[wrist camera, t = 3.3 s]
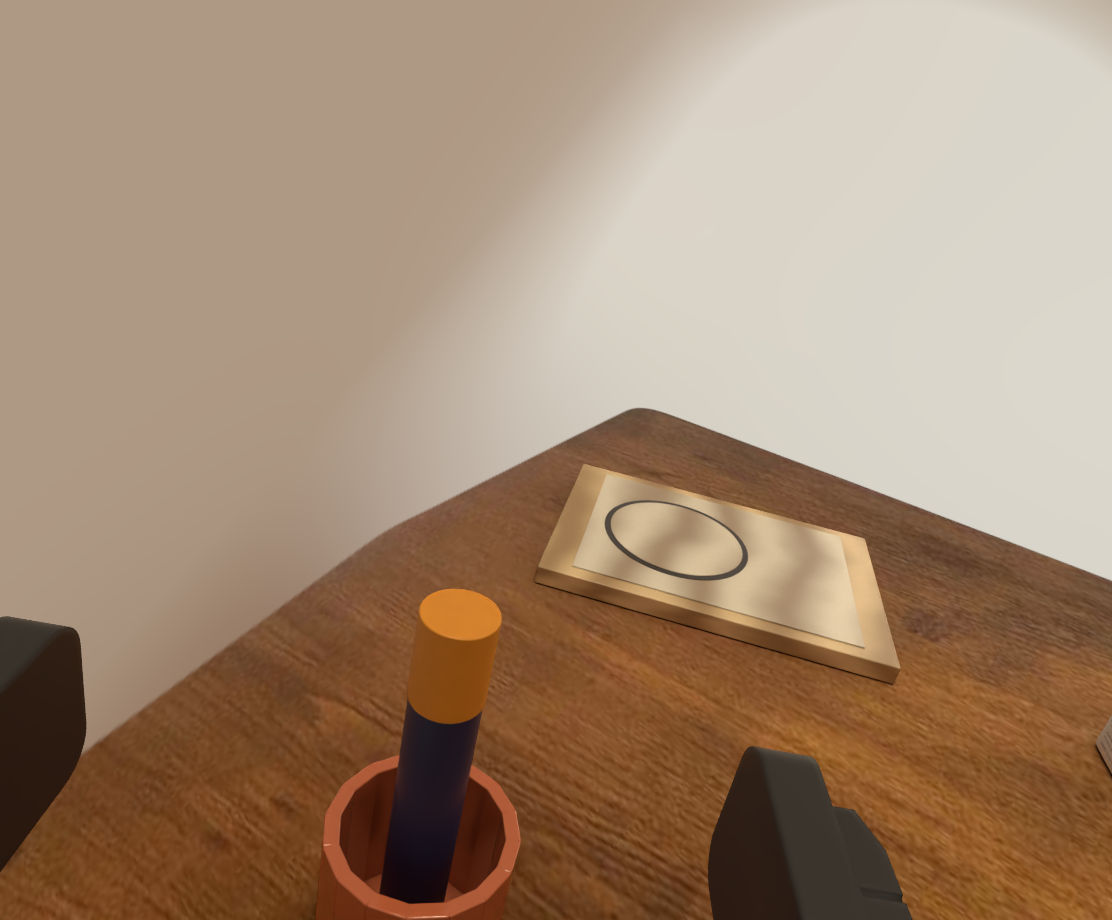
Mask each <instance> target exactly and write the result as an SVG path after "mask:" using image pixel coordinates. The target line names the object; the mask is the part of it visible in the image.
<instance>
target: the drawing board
mask: <svg viewBox="0 0 1112 920" xmlns="http://www.w3.org/2000/svg"><path fill="white" fill-rule="evenodd" d="M534 581H535V582H537V583H540V584H544V585H547V586H551V587H554V588H558V589H561V590H565V591H568V592H572V593H575V594H579V595H582V596H586V597H589V598H593V599H596V600H600V601H603V602H607V603H610V604H614V605H617V606H621V607H624V608H628V609H631V610H635V611H638V612H642V613H645V614H649V615H652V616H656V617H659V618H663V619H666V620H670V621H673V622H677V623H680V624H684V625H687V626H691V627H695V628H698V629H702V630H705V631H709V632H712V633H716V634H719V635H723V636H726V637H730V638H733V639H737V640H740V641H744V642H747V643H751V644H754V645H758V646H761V647H765V648H768V649H772V650H775V651H779V652H782V653H786V654H789V655H793V656H796V657H800V658H803V659H807V660H810V661H814V662H817V663H821V664H824V665H828V666H831V667H835V668H838V669H842V670H845V671H849V672H852V673H856V674H859V675H863V676H867V677H870V678H874V679H877V680H881V681H884V682H888V683H891V684H894V682H895V680H896V678H897V676H898V673H899V671H900V665H899V661H898V658H897V654H896V650H895V647H894V643H893V640H892V636H891V632H890V629H889V625H888V621H887V618H886V614H885V611H884V607H883V603H882V600H881V596H880V593H879V589H878V585H877V582H876V578H875V575H874V571H873V567H872V564H871V560H870V556H869V553H868V549H867V546H866V542H865V539H864V538H860V537H856V536H853V535H849V534H845V533H841V532H838V531H834V530H830V529H826V528H823V527H819V526H815V525H811V524H808V523H804V522H800V521H796V520H793V519H789V518H785V517H781V516H778V515H774V514H770V513H766V512H763V511H759V510H755V509H751V508H748V507H744V506H740V505H736V504H733V503H729V502H725V501H721V500H717V499H714V498H710V497H706V496H702V495H699V494H695V493H691V492H687V491H684V490H680V489H676V488H672V487H669V486H665V485H661V484H657V483H654V482H650V481H646V480H642V479H639V478H635V477H631V476H627V475H624V474H620V473H616V472H612V471H609V470H605V469H601V468H597V467H594V466H590V465H586V464H583V466H582V469H581V471H580V473H579V475H578V478H577V480H576V482H575V484H574V486H573V489H572V491H571V493H570V495H569V498H568V500H567V502H566V504H565V506H564V509H563V511H562V513H561V515H560V518H559V520H558V522H557V524H556V526H555V529H554V531H553V533H552V535H551V538H550V540H549V542H548V544H547V546H546V549H545V551H544V553H543V555H542V558H541V560H540V562H539V564H538V566H537V571H536V576H535V580H534Z"/></svg>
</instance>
